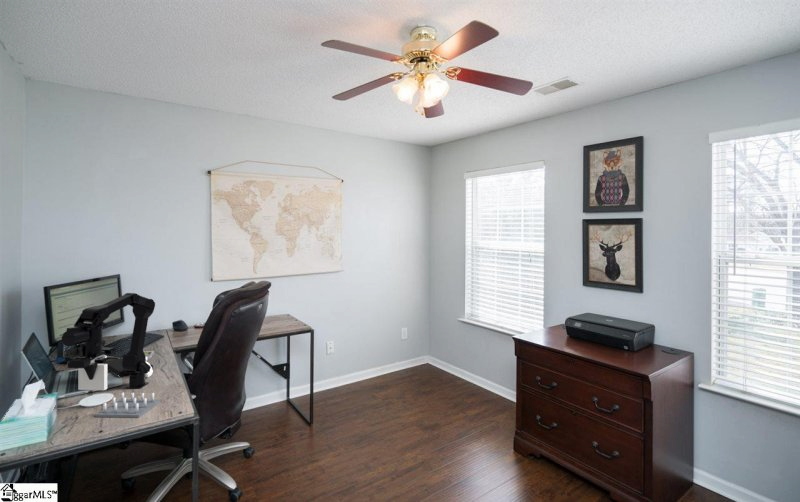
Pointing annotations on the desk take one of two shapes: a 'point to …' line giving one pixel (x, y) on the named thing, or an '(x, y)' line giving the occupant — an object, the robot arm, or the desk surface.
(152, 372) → the bust
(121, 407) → the dish rack
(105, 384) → the white rectangular slab
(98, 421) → the desk surface
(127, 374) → the external hard drive
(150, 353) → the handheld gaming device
